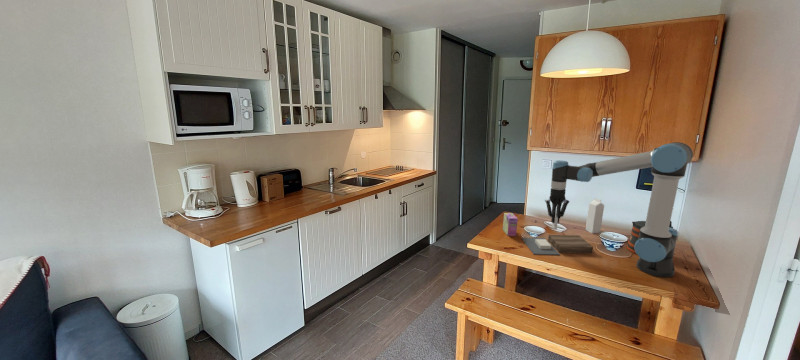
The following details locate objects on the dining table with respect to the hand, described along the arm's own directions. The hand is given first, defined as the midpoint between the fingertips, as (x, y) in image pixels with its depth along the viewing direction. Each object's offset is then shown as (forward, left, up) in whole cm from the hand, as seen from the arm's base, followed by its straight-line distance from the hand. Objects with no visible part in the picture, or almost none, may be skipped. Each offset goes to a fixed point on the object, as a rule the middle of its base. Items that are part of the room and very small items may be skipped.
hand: (554, 228), depth 188 cm
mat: (0, +7, -12) cm, 14 cm away
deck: (0, -10, -12) cm, 15 cm away
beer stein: (-4, -51, -12) cm, 52 cm away
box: (+20, +19, -12) cm, 31 cm away
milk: (+25, -36, -12) cm, 45 cm away
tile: (0, +5, -9) cm, 11 cm away
